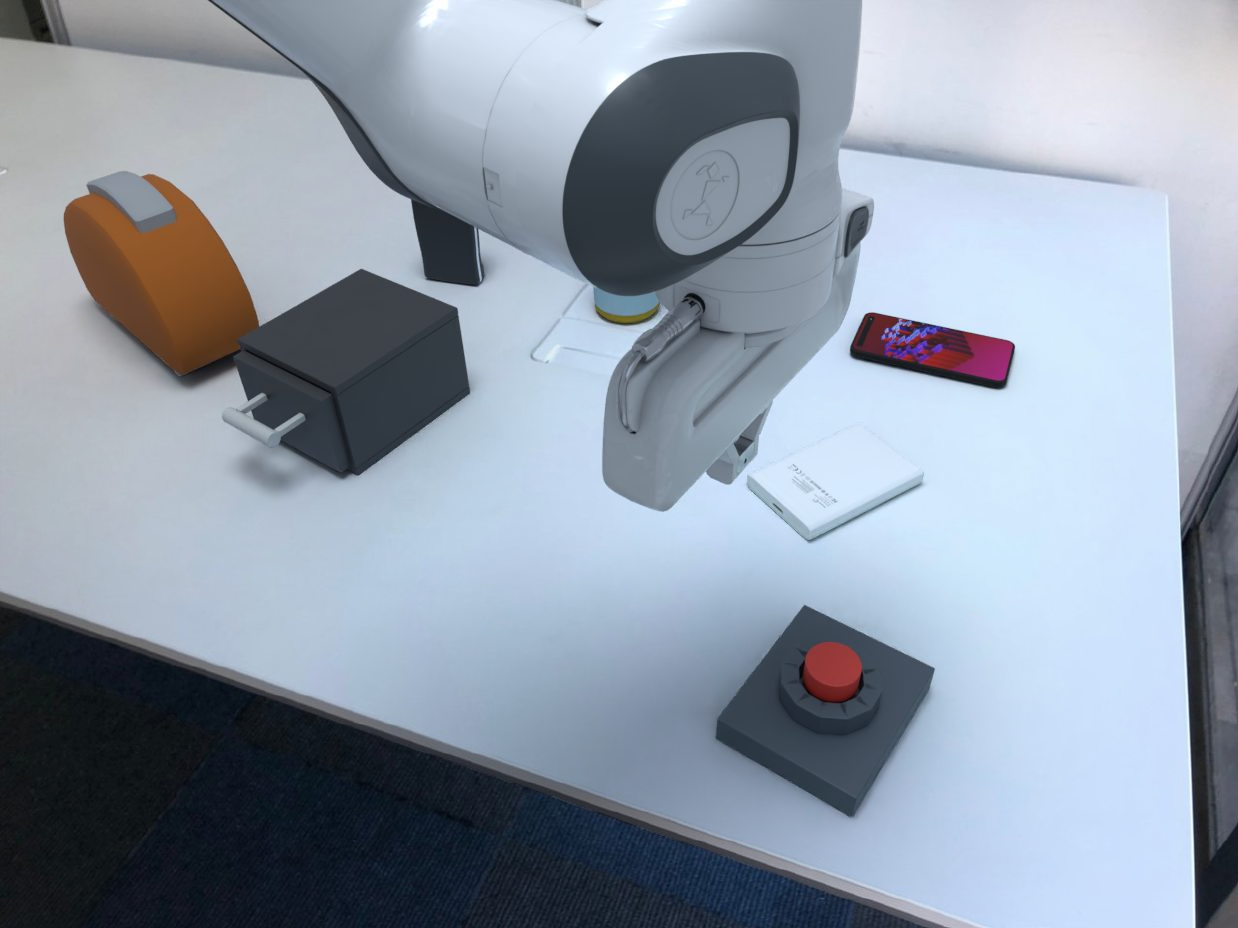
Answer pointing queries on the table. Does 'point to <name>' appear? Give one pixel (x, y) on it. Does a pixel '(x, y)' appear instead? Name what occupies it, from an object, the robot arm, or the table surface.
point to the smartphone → (934, 349)
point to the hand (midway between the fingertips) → (731, 467)
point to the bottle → (625, 306)
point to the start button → (832, 672)
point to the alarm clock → (159, 269)
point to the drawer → (288, 412)
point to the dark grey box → (371, 358)
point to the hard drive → (834, 480)
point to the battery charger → (447, 246)
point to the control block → (825, 712)
